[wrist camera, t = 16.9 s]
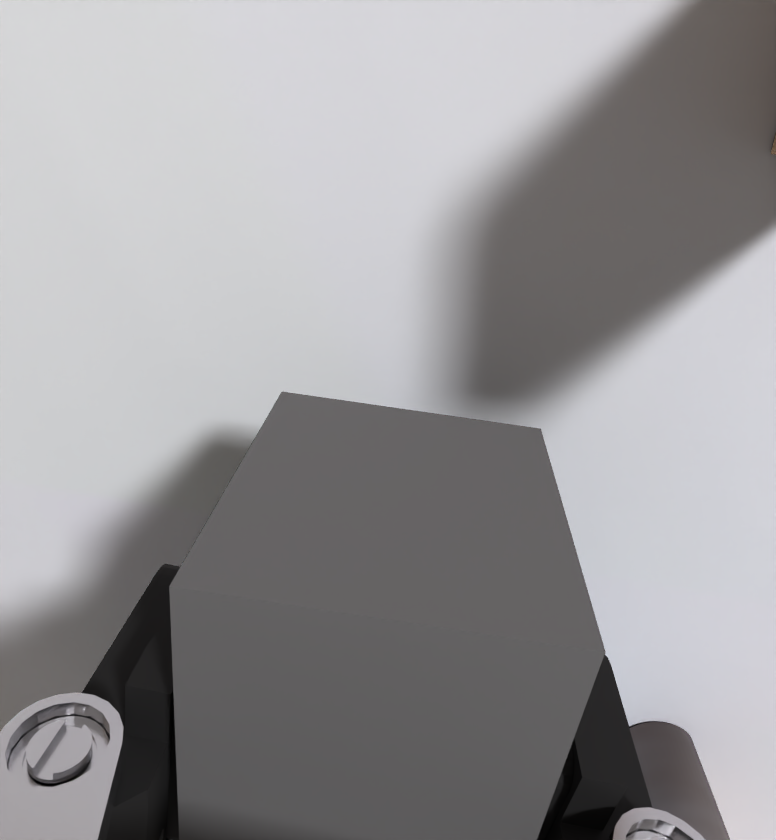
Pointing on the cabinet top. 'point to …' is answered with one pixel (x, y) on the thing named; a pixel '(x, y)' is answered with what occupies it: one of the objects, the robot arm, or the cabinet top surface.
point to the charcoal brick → (379, 633)
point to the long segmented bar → (678, 772)
